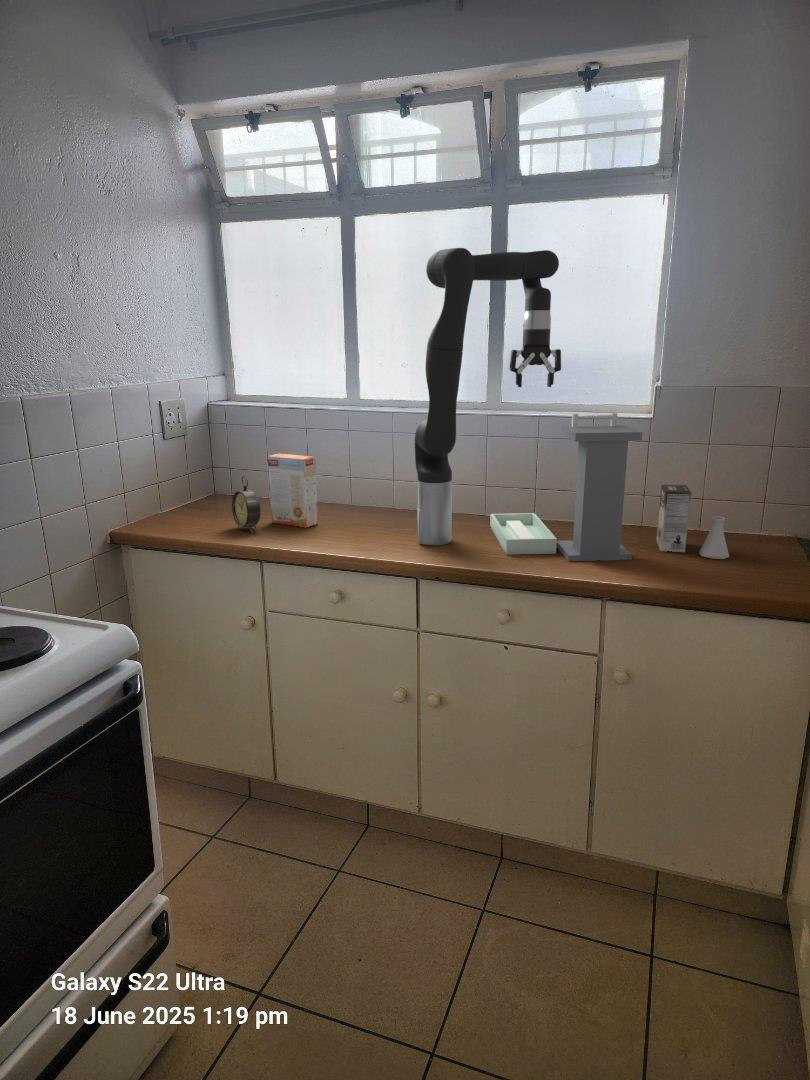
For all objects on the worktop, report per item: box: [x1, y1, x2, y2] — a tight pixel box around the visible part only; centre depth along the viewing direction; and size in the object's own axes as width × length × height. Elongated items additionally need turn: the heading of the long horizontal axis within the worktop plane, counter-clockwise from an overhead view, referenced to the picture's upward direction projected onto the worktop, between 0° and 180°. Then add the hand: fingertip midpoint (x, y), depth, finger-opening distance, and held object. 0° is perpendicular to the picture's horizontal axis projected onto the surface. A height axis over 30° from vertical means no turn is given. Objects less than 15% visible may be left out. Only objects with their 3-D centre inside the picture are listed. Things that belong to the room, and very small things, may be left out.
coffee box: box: [656, 484, 692, 553], centre depth 183 cm, size 9×6×16 cm
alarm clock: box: [231, 475, 261, 534], centre depth 204 cm, size 11×5×16 cm, turn 37°
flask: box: [698, 515, 730, 560], centre depth 177 cm, size 7×7×10 cm
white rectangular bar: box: [506, 520, 535, 539], centre depth 194 cm, size 4×22×2 cm, turn 4°
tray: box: [489, 512, 558, 556], centre depth 193 cm, size 13×27×4 cm, turn 2°
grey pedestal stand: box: [556, 412, 643, 562], centre depth 176 cm, size 16×13×35 cm
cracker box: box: [267, 453, 319, 529], centre depth 210 cm, size 14×6×21 cm, turn 58°
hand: (534, 387), depth 200 cm, fingers open, 8 cm apart
